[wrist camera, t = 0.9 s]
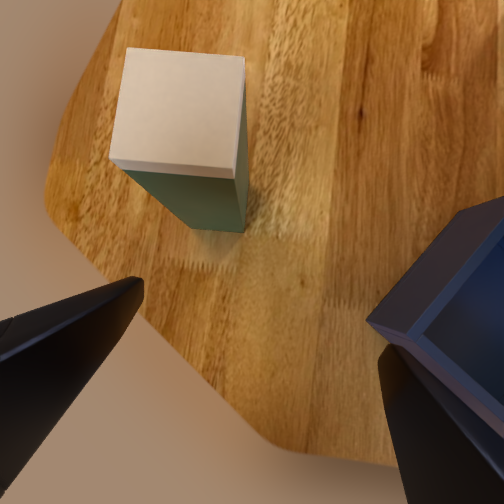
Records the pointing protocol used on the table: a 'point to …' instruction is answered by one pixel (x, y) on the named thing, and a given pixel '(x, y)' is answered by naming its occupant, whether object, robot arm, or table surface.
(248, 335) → the table surface
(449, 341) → the dark blue open container
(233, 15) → the table surface
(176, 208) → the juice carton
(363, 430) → the table surface
